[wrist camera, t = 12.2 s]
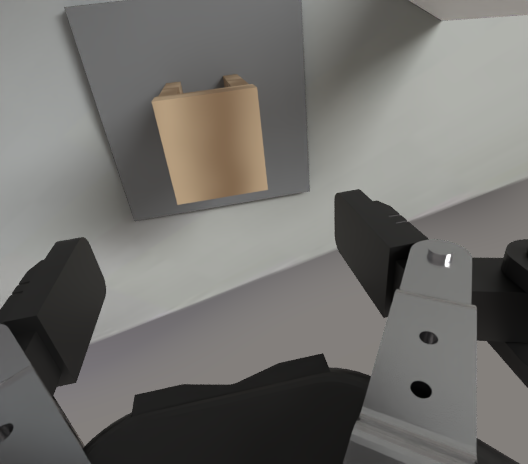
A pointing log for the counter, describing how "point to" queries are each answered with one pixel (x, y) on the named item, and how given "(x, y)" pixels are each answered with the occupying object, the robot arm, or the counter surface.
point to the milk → (472, 8)
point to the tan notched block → (212, 140)
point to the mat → (193, 84)
